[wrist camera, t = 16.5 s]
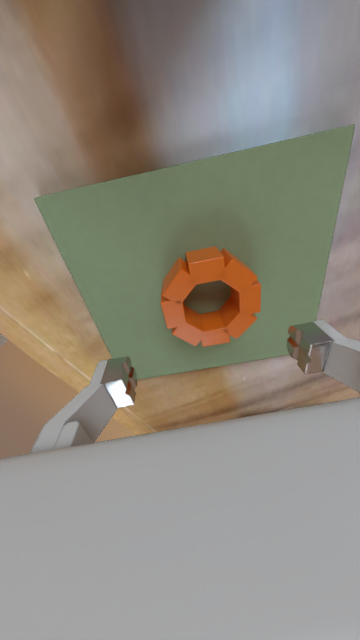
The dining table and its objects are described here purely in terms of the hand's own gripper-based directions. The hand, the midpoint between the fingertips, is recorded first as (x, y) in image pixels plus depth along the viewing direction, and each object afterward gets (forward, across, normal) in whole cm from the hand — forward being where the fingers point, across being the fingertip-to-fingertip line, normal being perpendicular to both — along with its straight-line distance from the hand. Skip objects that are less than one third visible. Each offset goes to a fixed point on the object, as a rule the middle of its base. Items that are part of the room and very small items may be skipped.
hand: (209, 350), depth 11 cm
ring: (+6, -1, 0) cm, 6 cm away
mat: (+7, -1, 0) cm, 7 cm away
